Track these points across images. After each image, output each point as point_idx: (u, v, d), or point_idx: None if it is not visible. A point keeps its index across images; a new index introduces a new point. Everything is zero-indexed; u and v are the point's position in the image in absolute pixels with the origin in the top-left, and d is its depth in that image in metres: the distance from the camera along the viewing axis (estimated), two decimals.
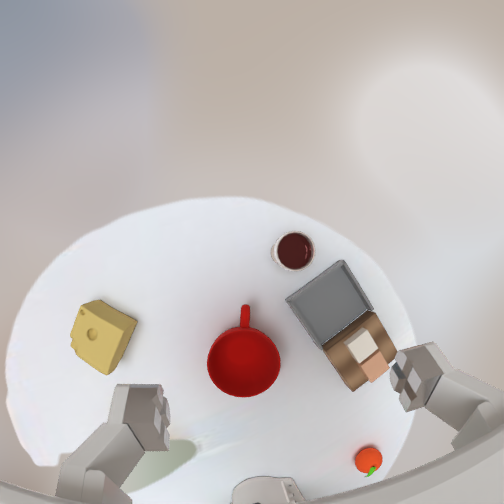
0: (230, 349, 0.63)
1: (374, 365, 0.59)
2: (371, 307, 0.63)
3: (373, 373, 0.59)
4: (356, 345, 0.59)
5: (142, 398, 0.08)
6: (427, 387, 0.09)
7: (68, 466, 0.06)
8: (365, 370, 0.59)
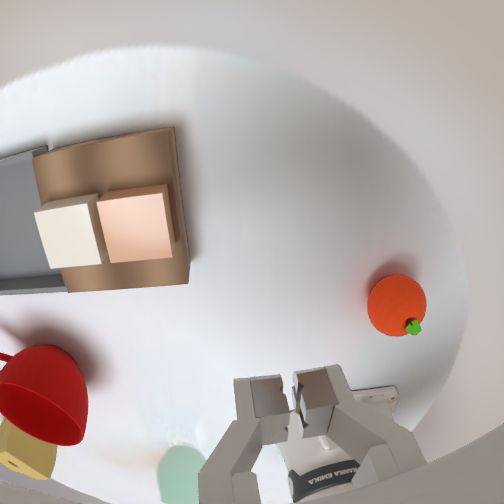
0: None
1: (127, 232, 0.22)
2: (26, 156, 0.21)
3: (148, 242, 0.23)
4: (57, 251, 0.22)
5: (269, 389, 0.09)
6: (319, 416, 0.08)
7: (207, 475, 0.06)
8: (127, 257, 0.23)
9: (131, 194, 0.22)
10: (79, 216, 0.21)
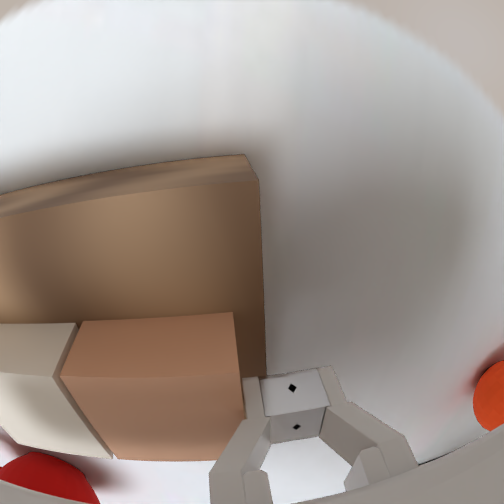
0: None
1: (148, 430, 0.08)
2: None
3: (198, 443, 0.09)
4: (20, 429, 0.08)
5: (277, 388, 0.09)
6: (311, 418, 0.08)
7: (218, 474, 0.06)
8: (152, 457, 0.09)
9: (147, 358, 0.08)
10: (43, 394, 0.07)
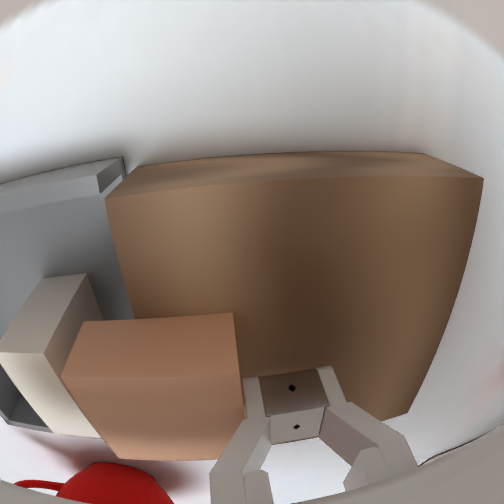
0: None
1: (149, 430, 0.09)
2: (79, 188, 0.08)
3: (198, 443, 0.09)
4: None
5: (278, 388, 0.09)
6: (310, 418, 0.08)
7: (219, 474, 0.06)
8: (153, 456, 0.09)
9: (147, 359, 0.08)
10: None
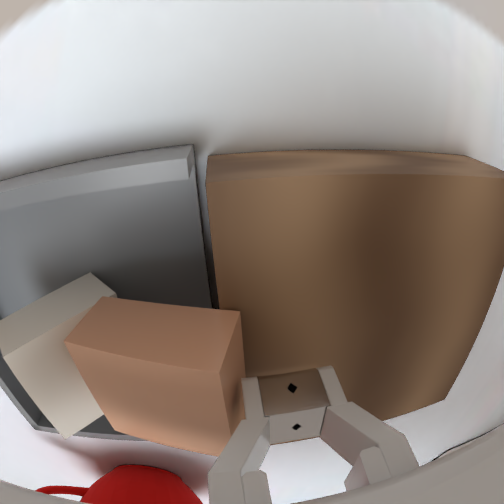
0: None
1: (139, 409, 0.09)
2: (165, 171, 0.09)
3: (185, 433, 0.09)
4: None
5: (277, 388, 0.09)
6: (311, 418, 0.08)
7: (217, 474, 0.06)
8: (144, 436, 0.10)
9: (142, 341, 0.08)
10: None
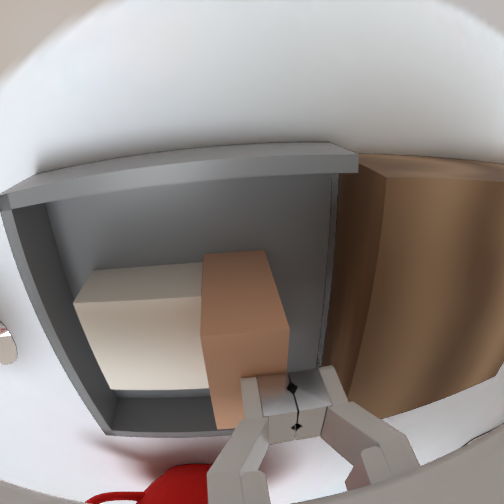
0: None
1: None
2: (340, 164, 0.09)
3: None
4: None
5: (276, 388, 0.09)
6: (312, 417, 0.08)
7: (216, 474, 0.06)
8: None
9: (222, 287, 0.11)
10: None
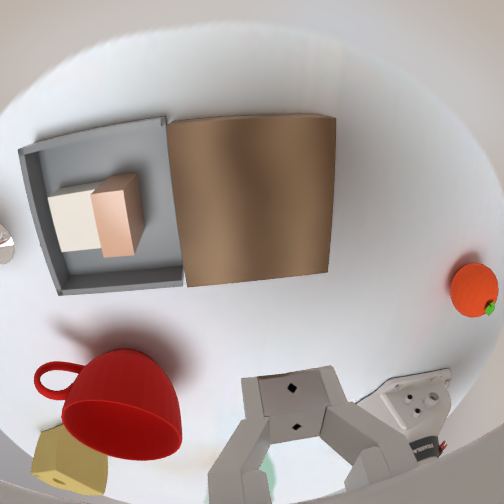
0: None
1: None
2: (152, 124, 0.21)
3: None
4: None
5: (277, 388, 0.09)
6: (311, 418, 0.08)
7: (217, 474, 0.06)
8: None
9: (108, 183, 0.22)
10: None
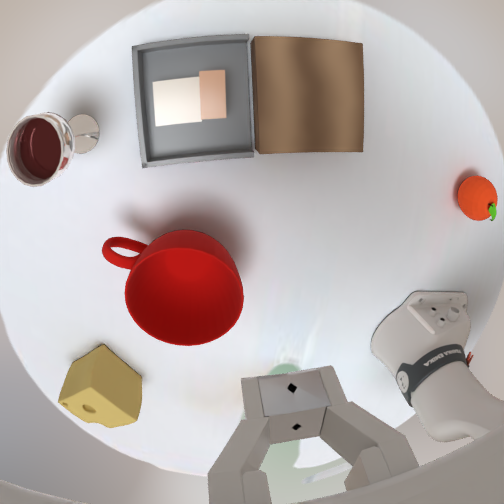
0: (178, 272, 0.42)
1: None
2: (242, 36, 0.28)
3: None
4: None
5: (277, 388, 0.09)
6: (311, 418, 0.08)
7: (217, 474, 0.06)
8: None
9: None
10: None
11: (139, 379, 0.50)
